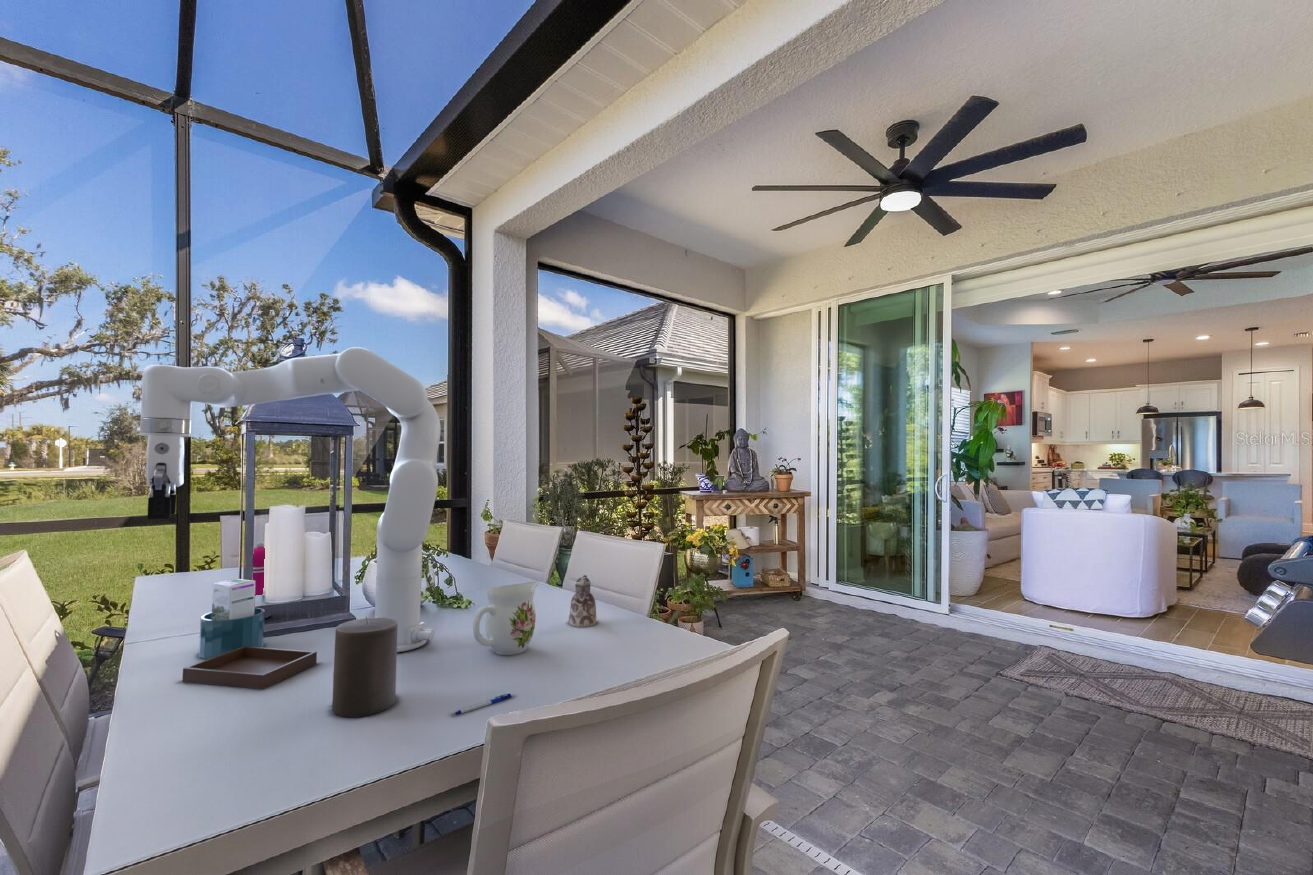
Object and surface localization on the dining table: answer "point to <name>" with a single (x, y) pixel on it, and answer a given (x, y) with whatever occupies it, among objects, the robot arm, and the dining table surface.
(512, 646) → the pitcher
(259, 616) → the cup
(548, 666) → the dining table surface
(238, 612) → the syrup box
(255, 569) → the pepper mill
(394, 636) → the pillar candle
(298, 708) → the dining table surface
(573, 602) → the figurine
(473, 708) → the ballpoint pen
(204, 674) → the tray
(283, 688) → the dining table surface
